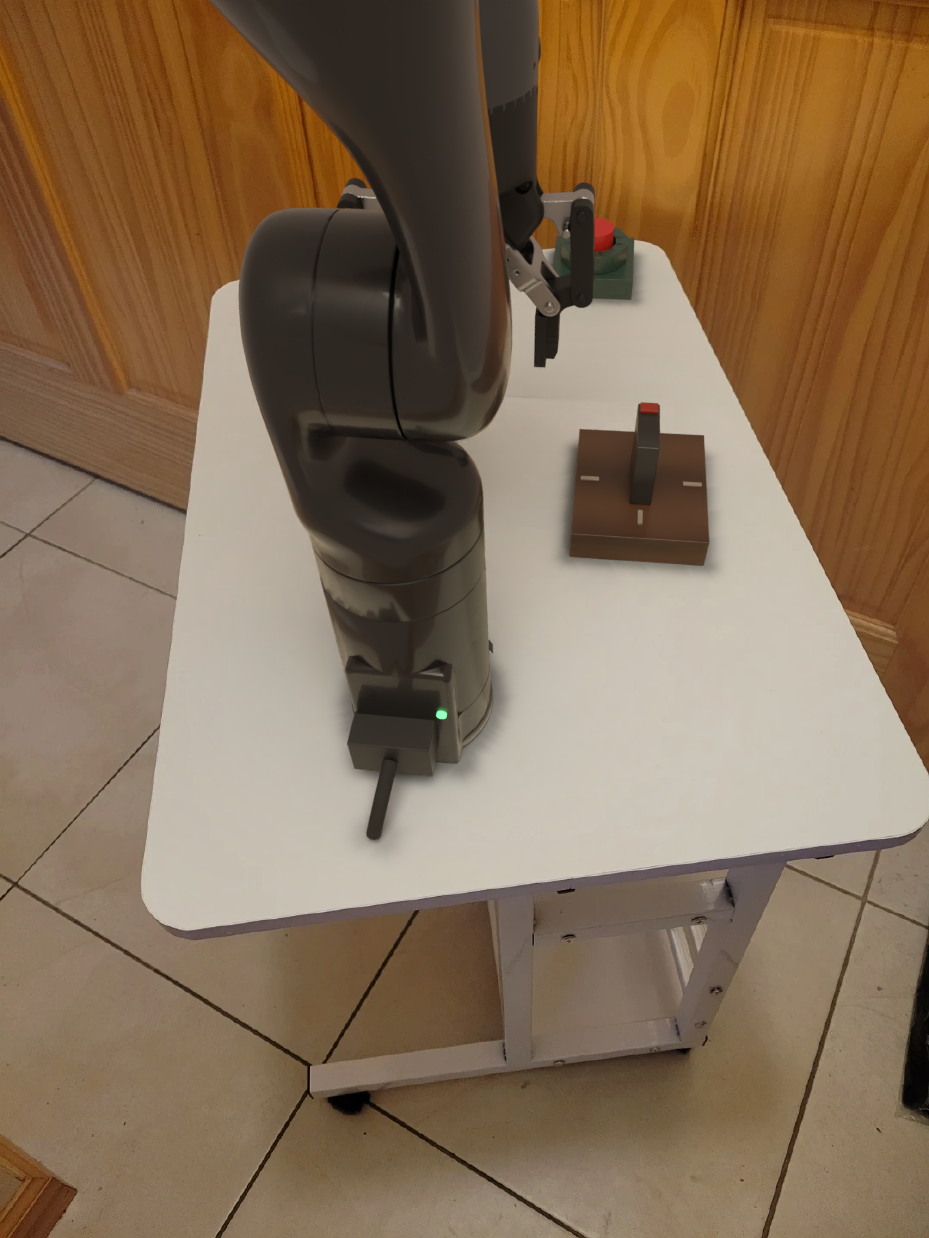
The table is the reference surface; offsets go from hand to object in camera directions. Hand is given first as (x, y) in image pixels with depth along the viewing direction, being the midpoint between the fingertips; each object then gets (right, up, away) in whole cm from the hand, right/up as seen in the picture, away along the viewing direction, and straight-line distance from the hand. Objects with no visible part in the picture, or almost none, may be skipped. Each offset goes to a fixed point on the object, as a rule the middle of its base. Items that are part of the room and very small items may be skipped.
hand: (472, 356), depth 56 cm
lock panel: (+13, -7, +15) cm, 22 cm away
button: (+12, +21, +33) cm, 41 cm away
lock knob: (+13, -6, +13) cm, 20 cm away
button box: (+13, +19, +36) cm, 43 cm away
